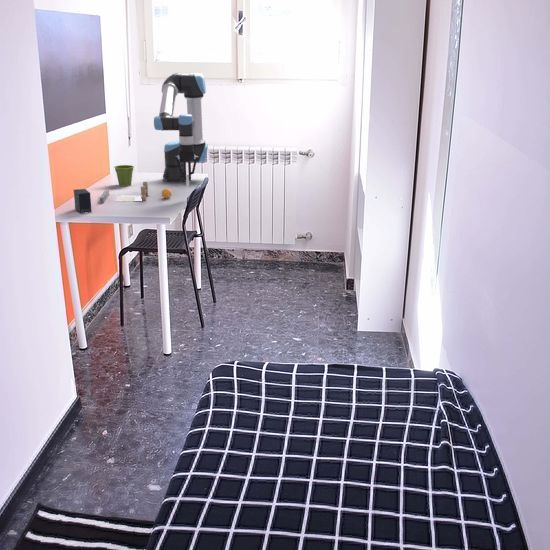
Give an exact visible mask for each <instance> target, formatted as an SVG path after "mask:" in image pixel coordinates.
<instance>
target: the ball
mask: <svg viewBox="0 0 550 550" xmlns="http://www.w3.org/2000/svg"><path fill="white" fill-rule="evenodd" d="M161 196H162V198H164V199H169V198H171V197H172V190H171V189H170V188H163V189H162V191H161Z"/></svg>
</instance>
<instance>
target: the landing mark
mask: <svg viewBox="0 0 550 550" xmlns="http://www.w3.org/2000/svg"><path fill="white" fill-rule="evenodd" d="M135 197H138V196H136V195H135V194H134V195H131V194H130V195H118V197H117V198H116V200H115V202H116V203H133V201H135Z"/></svg>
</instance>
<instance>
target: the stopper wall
mask: <svg viewBox="0 0 550 550" xmlns="http://www.w3.org/2000/svg"><path fill="white" fill-rule="evenodd" d="M109 196H110V190H109V189H104V190H103V192H102V194H101V195H100V197H99V204H105V203H106V201H107V199H108V197H109Z"/></svg>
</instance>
